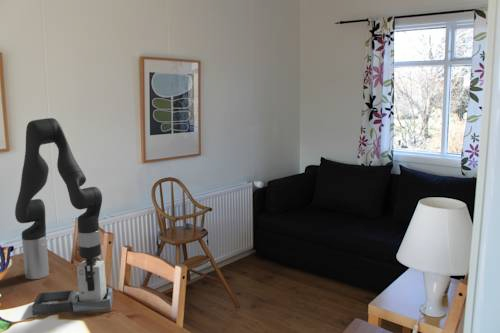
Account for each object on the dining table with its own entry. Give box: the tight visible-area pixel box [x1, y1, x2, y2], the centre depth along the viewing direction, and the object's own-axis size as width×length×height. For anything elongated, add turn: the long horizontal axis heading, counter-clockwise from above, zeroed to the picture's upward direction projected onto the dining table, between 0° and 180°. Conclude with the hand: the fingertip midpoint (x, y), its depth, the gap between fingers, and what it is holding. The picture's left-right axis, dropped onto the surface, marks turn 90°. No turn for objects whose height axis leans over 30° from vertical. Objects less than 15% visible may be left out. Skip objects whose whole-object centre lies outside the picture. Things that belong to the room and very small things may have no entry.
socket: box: [31, 289, 76, 316], centre depth 163 cm, size 11×12×4 cm
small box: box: [76, 260, 107, 301], centre depth 162 cm, size 8×6×13 cm
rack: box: [72, 286, 114, 317], centre depth 163 cm, size 12×13×4 cm
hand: (92, 286), depth 162 cm, fingers closed on small box, 7 cm apart
